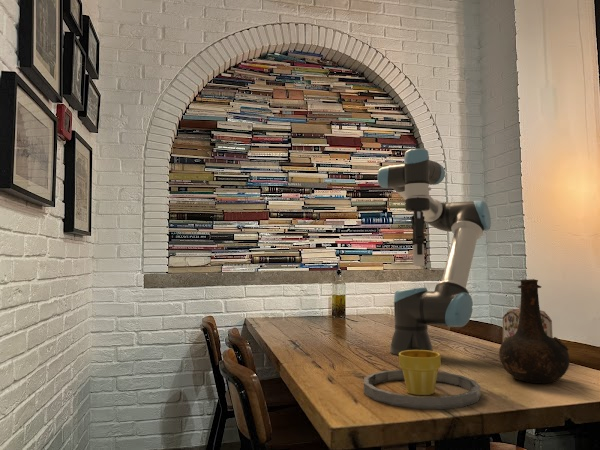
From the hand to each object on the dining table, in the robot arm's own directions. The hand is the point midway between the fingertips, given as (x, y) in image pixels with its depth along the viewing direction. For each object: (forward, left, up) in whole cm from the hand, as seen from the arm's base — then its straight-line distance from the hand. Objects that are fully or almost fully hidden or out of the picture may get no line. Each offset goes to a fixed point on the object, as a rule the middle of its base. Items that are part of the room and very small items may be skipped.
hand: (418, 265), depth 155 cm
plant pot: (+17, -22, -32) cm, 42 cm away
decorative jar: (+12, +43, -32) cm, 55 cm away
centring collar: (+17, -22, -32) cm, 42 cm away
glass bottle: (+29, +13, -32) cm, 45 cm away
